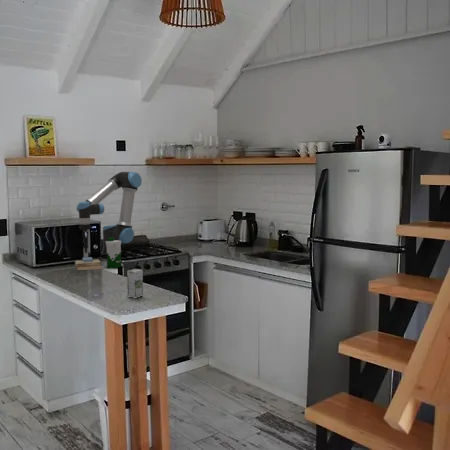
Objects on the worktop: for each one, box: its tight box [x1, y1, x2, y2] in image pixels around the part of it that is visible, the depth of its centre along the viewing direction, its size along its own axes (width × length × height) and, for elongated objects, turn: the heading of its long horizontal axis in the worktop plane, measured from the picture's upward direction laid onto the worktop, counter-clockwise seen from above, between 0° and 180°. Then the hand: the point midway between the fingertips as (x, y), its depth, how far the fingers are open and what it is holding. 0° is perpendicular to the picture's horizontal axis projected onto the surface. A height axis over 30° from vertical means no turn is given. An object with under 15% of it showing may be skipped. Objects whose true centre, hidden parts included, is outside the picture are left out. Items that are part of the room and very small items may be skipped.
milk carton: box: [106, 238, 122, 269], centre depth 367 cm, size 9×9×20 cm
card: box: [82, 256, 94, 263], centre depth 375 cm, size 9×6×2 cm, turn 20°
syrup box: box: [126, 268, 144, 297], centre depth 283 cm, size 6×6×14 cm
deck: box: [74, 258, 102, 268], centre depth 374 cm, size 12×16×3 cm
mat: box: [76, 265, 104, 272], centre depth 364 cm, size 10×16×1 cm, turn 110°
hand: (85, 257), depth 383 cm, fingers closed
